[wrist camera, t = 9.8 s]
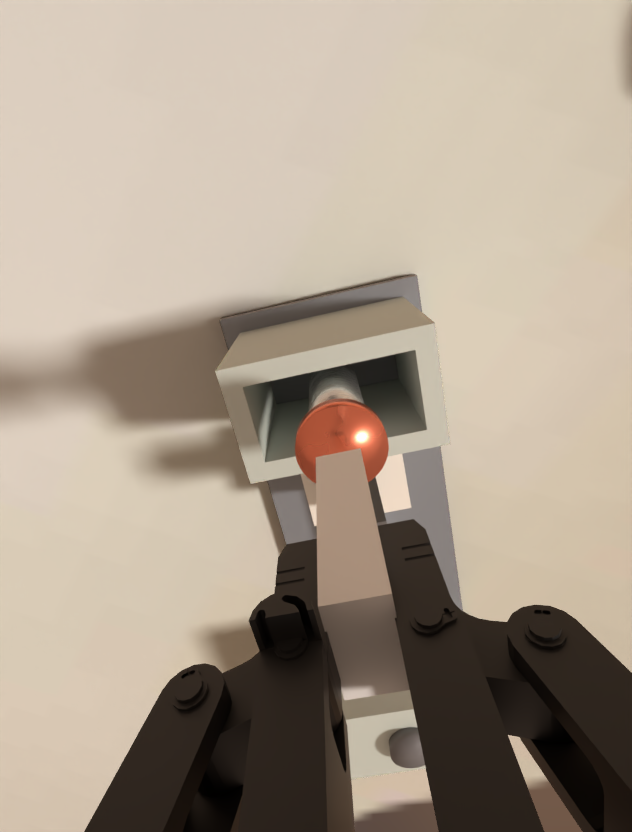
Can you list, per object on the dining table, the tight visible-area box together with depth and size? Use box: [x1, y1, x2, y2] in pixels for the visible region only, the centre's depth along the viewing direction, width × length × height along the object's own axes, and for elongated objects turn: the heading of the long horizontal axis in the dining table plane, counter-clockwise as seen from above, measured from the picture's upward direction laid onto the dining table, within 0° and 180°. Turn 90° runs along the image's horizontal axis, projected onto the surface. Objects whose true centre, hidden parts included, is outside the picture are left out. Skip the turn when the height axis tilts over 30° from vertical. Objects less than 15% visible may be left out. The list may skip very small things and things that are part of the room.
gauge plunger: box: [295, 364, 389, 483], centre depth 22 cm, size 4×4×9 cm
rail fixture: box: [215, 274, 463, 780], centre depth 30 cm, size 32×12×10 cm, turn 12°
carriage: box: [301, 454, 411, 526], centre depth 27 cm, size 5×6×10 cm
